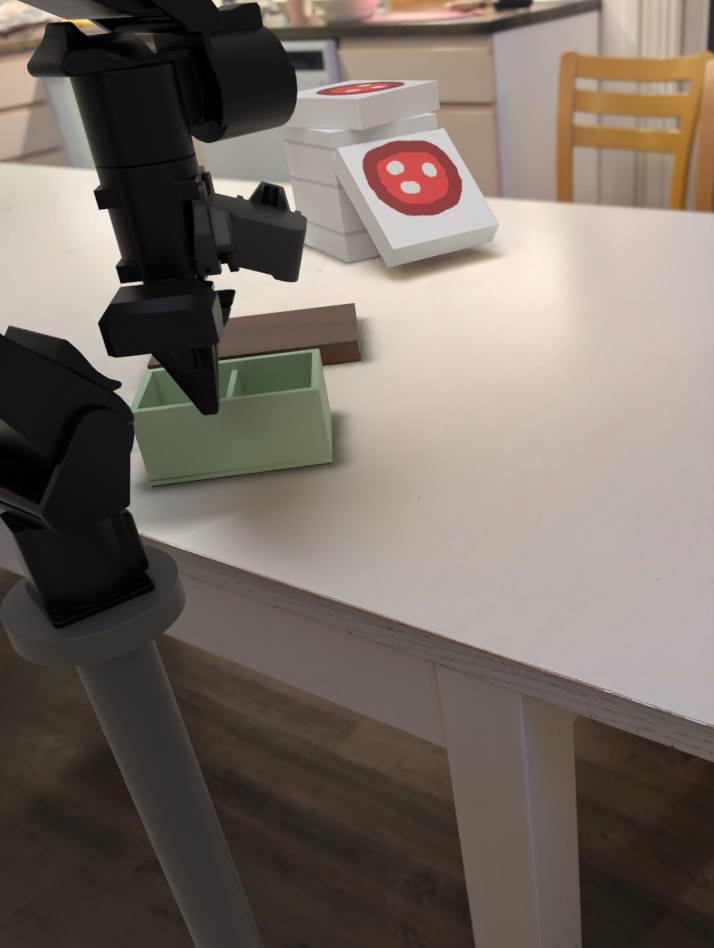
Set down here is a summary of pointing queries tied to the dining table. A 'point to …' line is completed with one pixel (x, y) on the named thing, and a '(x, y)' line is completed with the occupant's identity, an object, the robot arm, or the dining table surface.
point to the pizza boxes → (381, 174)
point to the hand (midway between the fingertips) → (211, 412)
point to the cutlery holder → (236, 420)
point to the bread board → (292, 334)
